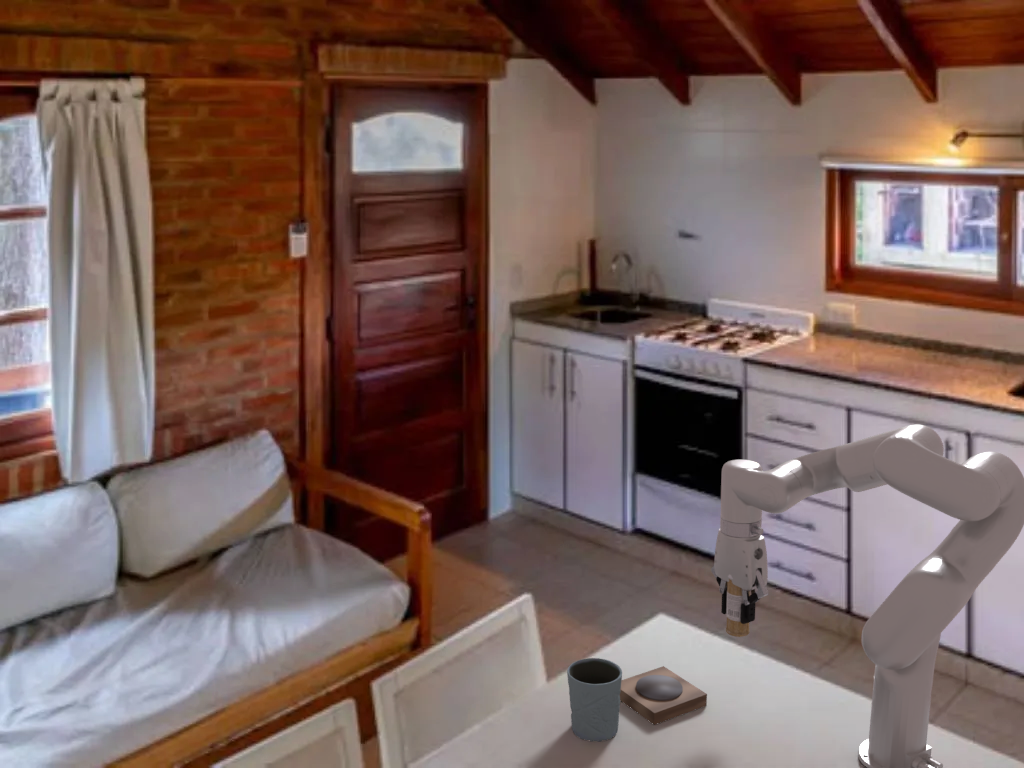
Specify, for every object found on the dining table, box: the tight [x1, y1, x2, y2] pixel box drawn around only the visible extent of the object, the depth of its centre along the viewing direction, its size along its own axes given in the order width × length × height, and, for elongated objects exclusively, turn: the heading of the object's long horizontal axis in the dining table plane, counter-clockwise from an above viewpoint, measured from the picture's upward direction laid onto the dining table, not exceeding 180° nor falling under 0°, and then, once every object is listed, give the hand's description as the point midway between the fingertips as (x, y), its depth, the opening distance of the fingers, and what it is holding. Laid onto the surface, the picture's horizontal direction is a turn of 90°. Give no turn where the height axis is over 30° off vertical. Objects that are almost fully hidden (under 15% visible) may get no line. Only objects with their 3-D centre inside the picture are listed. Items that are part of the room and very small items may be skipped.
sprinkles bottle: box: [725, 574, 751, 638], centre depth 206 cm, size 5×5×13 cm
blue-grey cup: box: [566, 657, 623, 742], centre depth 201 cm, size 10×10×12 cm
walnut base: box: [620, 665, 708, 726], centre depth 212 cm, size 13×13×3 cm
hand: (738, 616), depth 206 cm, fingers closed on sprinkles bottle, 4 cm apart
